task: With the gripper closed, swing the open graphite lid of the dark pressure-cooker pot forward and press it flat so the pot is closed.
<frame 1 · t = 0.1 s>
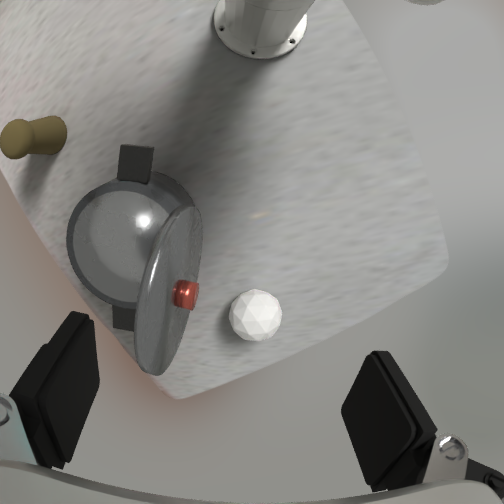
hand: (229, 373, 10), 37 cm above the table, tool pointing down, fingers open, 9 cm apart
cork: (51, 135, 39), on the table
lid: (181, 293, 30), point 18 cm above the table, hinge at 80.0°
geometric ball: (253, 302, 51), on the table
pot: (144, 225, 46), on the table
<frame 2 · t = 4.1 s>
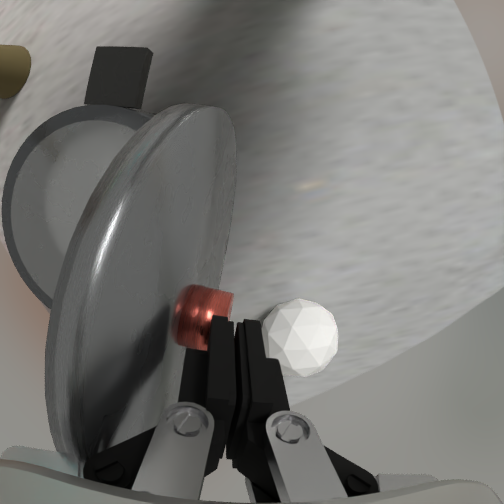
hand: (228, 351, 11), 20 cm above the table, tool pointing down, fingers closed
cork: (11, 72, 23), on the table
lid: (194, 316, 13), point 18 cm above the table, hinge at 79.0°, touching gripper
geometric ball: (292, 317, 35), on the table
pot: (131, 197, 29), on the table
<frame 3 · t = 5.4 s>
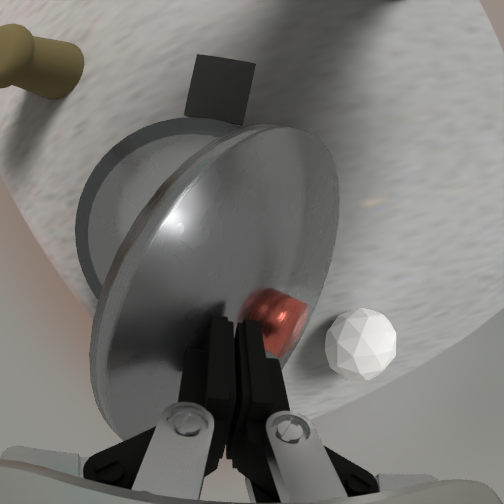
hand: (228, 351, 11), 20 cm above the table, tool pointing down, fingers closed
cork: (58, 70, 24), on the table
lid: (267, 318, 14), point 17 cm above the table, hinge at 51.6°
geometric ball: (349, 324, 36), on the table
pot: (202, 210, 30), on the table
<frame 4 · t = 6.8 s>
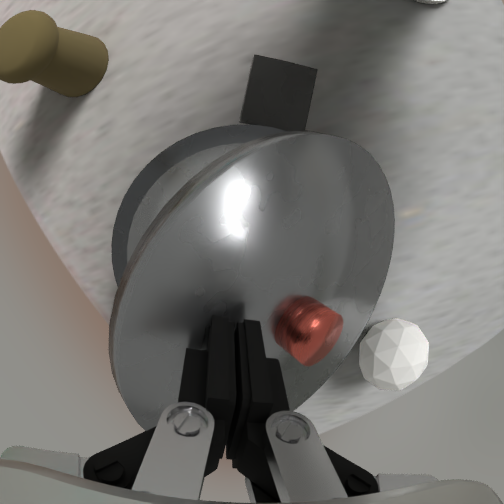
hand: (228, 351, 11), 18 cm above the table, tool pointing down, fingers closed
cork: (79, 66, 22), on the table
lid: (301, 325, 14), point 16 cm above the table, hinge at 34.8°, touching gripper
geometric ball: (380, 334, 34), on the table
pot: (239, 220, 28), on the table
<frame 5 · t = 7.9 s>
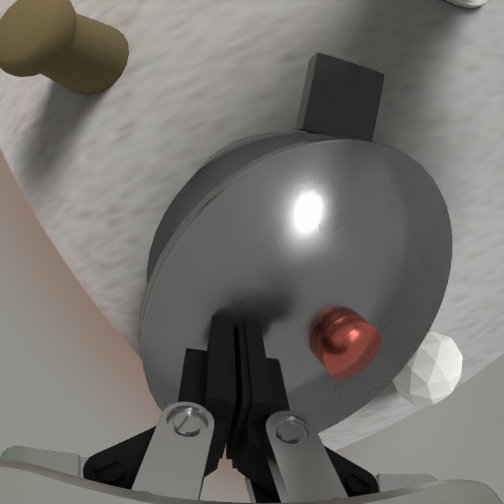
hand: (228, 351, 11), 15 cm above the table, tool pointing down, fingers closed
cork: (94, 59, 20), on the table
lid: (339, 337, 13), point 14 cm above the table, hinge at 18.2°, touching gripper
geometric ball: (411, 346, 32), on the table
pot: (277, 234, 26), on the table
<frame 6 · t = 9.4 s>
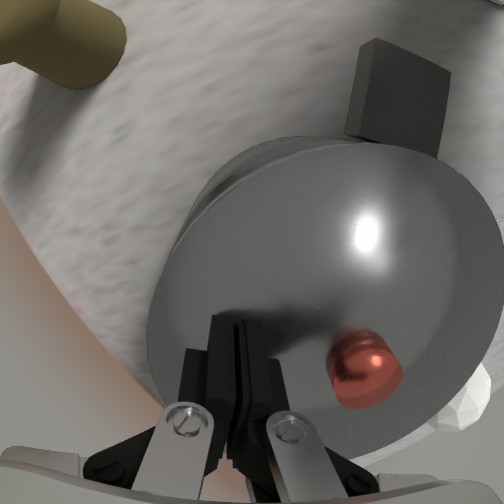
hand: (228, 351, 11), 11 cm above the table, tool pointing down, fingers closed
cork: (86, 48, 16), on the table
lid: (359, 363, 12), point 11 cm above the table, hinge at -0.1°, touching gripper
geometric ball: (436, 369, 28), on the table
pot: (301, 255, 22), on the table
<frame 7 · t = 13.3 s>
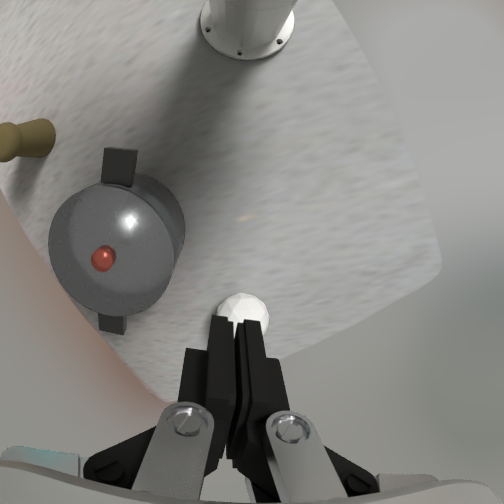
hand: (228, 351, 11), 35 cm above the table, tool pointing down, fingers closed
cork: (40, 137, 39), on the table
lid: (104, 257, 34), point 11 cm above the table, hinge at -0.1°
geometric ball: (241, 306, 51), on the table
pot: (131, 228, 45), on the table
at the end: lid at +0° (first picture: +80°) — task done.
